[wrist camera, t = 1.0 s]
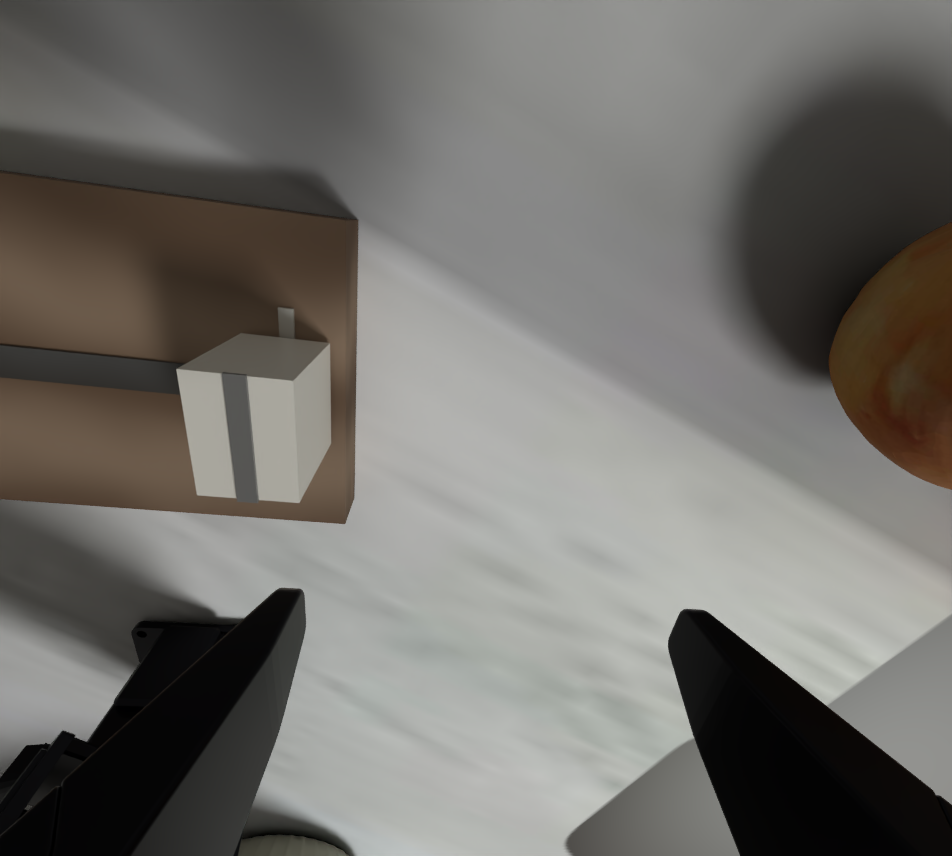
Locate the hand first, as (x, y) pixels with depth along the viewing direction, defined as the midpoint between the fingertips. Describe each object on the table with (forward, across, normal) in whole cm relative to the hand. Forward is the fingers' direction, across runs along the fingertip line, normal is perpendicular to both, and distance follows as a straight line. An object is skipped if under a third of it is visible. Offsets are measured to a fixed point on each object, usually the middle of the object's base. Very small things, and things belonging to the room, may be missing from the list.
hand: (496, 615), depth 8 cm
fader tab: (+10, +7, 0) cm, 12 cm away
